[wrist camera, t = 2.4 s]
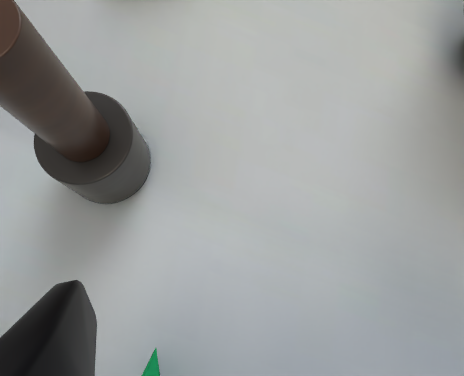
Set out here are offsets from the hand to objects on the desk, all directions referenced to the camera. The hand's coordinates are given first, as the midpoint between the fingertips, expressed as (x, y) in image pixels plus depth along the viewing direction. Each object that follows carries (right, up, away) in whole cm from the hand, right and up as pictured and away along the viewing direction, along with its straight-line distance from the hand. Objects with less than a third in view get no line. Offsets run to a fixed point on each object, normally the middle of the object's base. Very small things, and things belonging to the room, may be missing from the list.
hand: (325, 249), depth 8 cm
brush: (-8, +2, +15) cm, 17 cm away
